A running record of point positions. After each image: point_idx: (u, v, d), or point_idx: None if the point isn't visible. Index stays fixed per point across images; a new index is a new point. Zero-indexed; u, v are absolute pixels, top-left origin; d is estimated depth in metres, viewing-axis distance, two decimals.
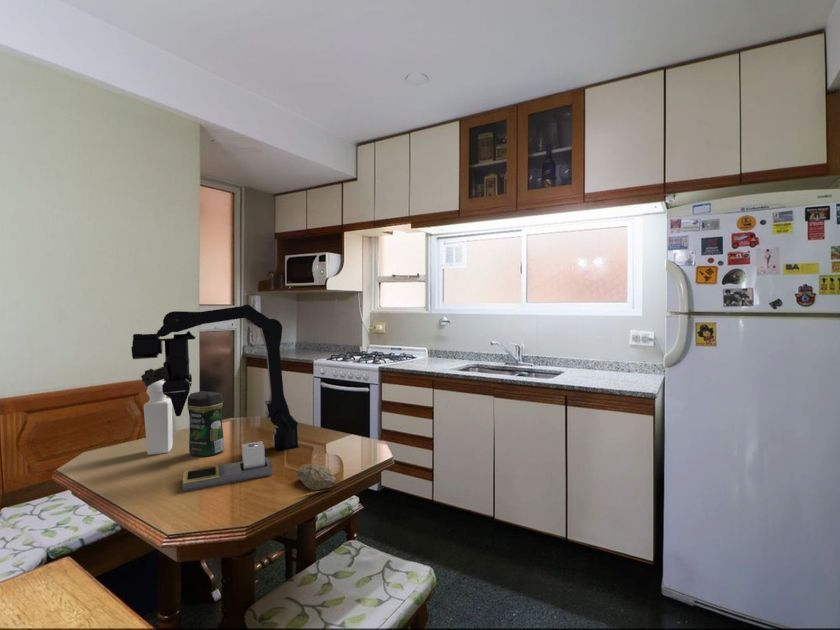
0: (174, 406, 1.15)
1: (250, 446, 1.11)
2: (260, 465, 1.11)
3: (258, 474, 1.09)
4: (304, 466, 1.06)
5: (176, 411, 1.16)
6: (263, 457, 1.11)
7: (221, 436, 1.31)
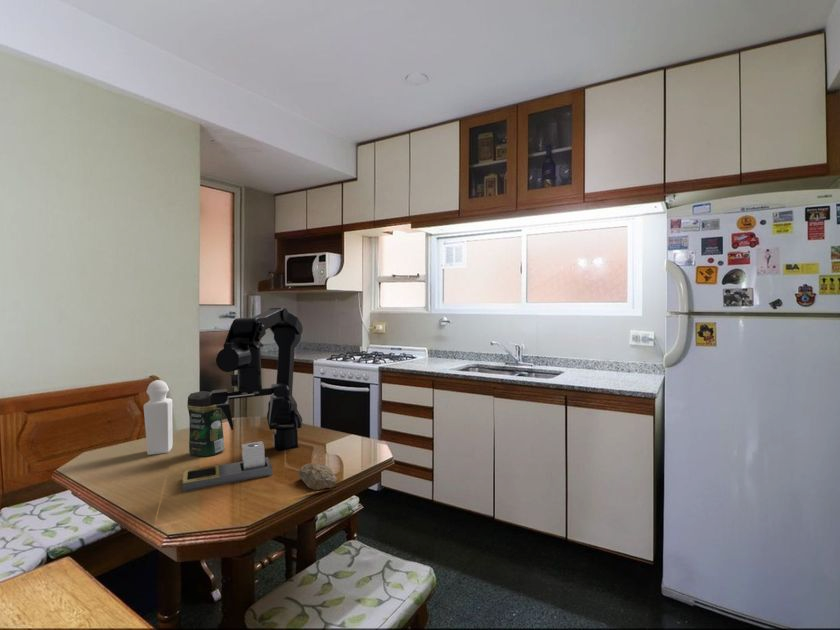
0: None
1: (250, 446, 1.11)
2: (260, 465, 1.11)
3: (258, 474, 1.09)
4: (306, 466, 1.06)
5: None
6: (263, 457, 1.11)
7: (221, 436, 1.31)
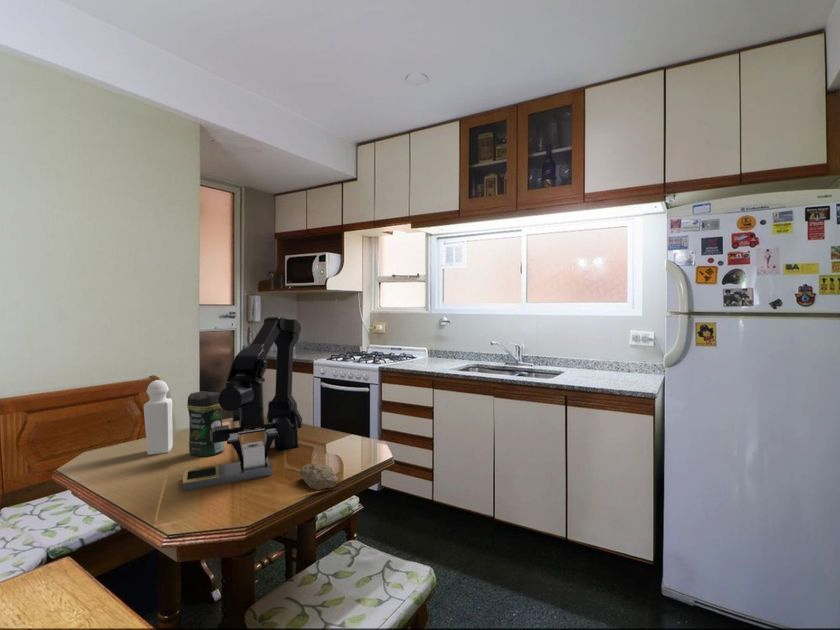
0: None
1: (250, 446, 1.11)
2: (260, 465, 1.11)
3: (258, 474, 1.09)
4: (307, 465, 1.06)
5: None
6: (263, 457, 1.11)
7: None
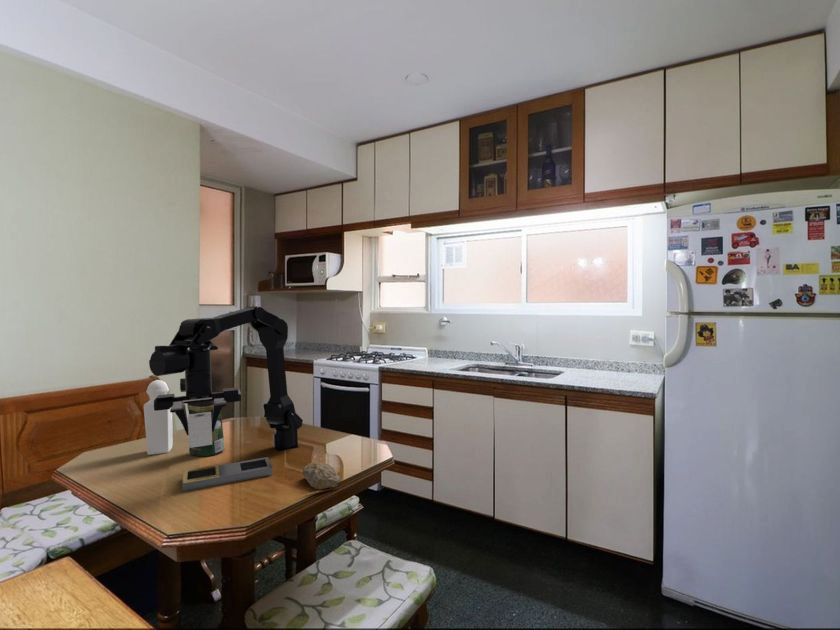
0: None
1: (196, 416, 1.06)
2: (206, 436, 1.05)
3: (258, 474, 1.09)
4: (309, 465, 1.06)
5: None
6: (210, 427, 1.06)
7: (221, 436, 1.31)
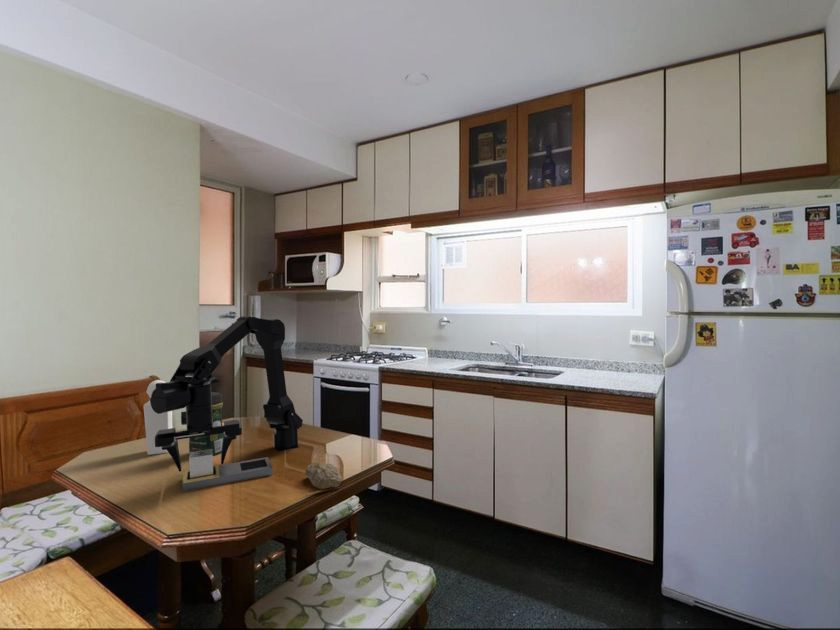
0: None
1: (197, 455, 1.06)
2: (207, 475, 1.05)
3: (258, 474, 1.09)
4: (312, 464, 1.07)
5: None
6: (211, 466, 1.06)
7: (221, 436, 1.31)
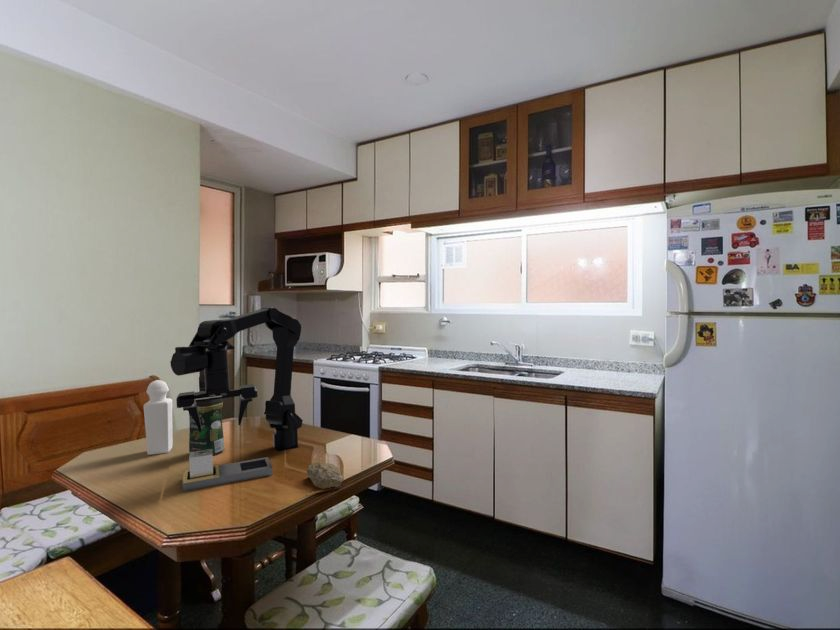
0: None
1: (197, 455, 1.06)
2: (207, 475, 1.05)
3: (258, 474, 1.09)
4: (313, 464, 1.07)
5: None
6: (211, 466, 1.06)
7: (221, 436, 1.31)
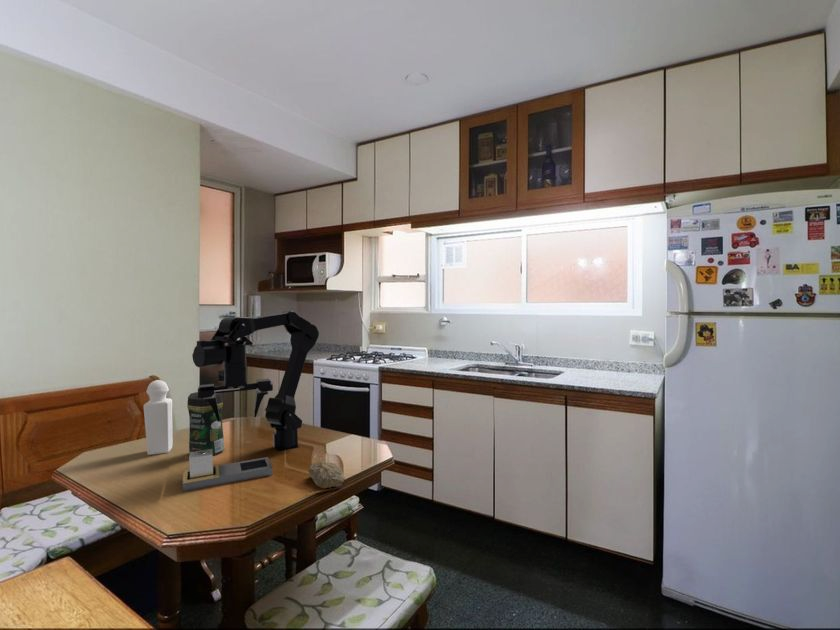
0: None
1: (197, 455, 1.06)
2: (207, 475, 1.05)
3: (258, 474, 1.09)
4: (315, 464, 1.07)
5: None
6: (211, 466, 1.06)
7: (221, 436, 1.31)
